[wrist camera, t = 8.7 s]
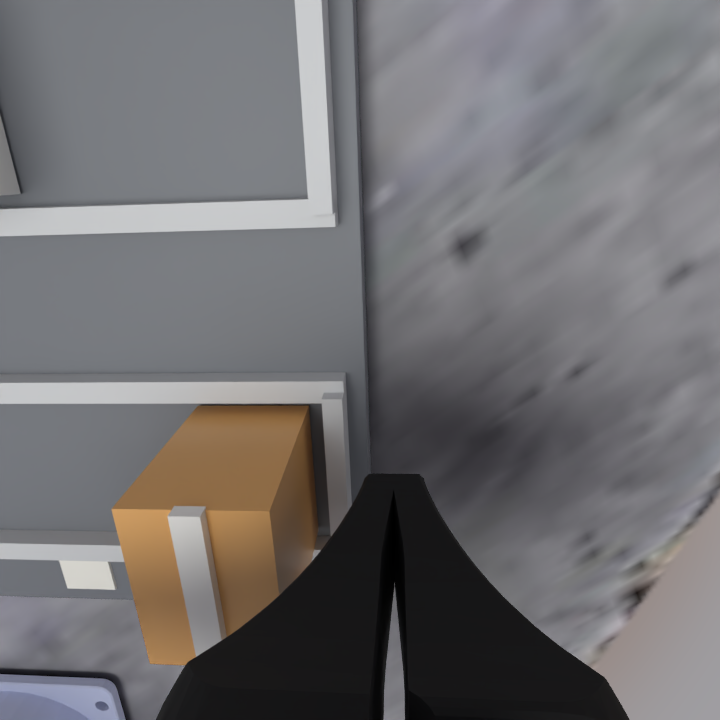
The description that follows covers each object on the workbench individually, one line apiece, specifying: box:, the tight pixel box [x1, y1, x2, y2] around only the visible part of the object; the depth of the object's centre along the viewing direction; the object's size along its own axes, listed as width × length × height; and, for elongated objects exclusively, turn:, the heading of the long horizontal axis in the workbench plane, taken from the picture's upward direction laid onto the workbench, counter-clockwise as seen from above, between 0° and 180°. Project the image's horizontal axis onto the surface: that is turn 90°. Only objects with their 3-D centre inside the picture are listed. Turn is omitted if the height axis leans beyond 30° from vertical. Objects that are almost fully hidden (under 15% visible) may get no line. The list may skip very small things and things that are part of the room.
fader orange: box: [111, 406, 318, 665], centre depth 12 cm, size 4×3×5 cm
